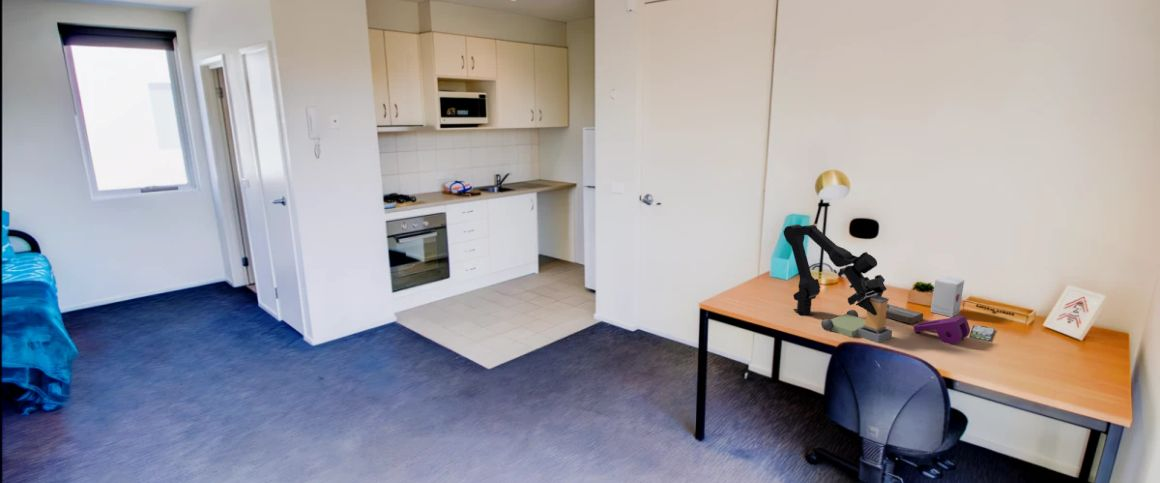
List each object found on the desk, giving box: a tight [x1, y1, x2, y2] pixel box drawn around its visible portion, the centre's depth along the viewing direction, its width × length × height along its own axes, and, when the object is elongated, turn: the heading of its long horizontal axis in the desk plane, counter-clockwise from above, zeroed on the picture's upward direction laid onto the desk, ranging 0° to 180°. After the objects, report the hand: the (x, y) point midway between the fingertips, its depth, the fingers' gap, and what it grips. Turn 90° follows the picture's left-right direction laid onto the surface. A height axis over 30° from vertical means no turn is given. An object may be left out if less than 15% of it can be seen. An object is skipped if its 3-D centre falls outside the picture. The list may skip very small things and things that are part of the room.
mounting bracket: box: [912, 315, 971, 345], centre depth 242 cm, size 10×8×18 cm
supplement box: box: [930, 275, 965, 318], centre depth 266 cm, size 9×9×15 cm
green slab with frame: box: [820, 309, 893, 344], centre depth 247 cm, size 22×19×4 cm
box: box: [886, 303, 924, 325], centre depth 263 cm, size 11×17×3 cm, turn 34°
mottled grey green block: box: [968, 324, 996, 343], centre depth 244 cm, size 7×1×15 cm
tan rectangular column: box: [864, 295, 889, 332], centre depth 240 cm, size 6×6×12 cm
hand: (879, 313), depth 239 cm, fingers closed on tan rectangular column, 5 cm apart
